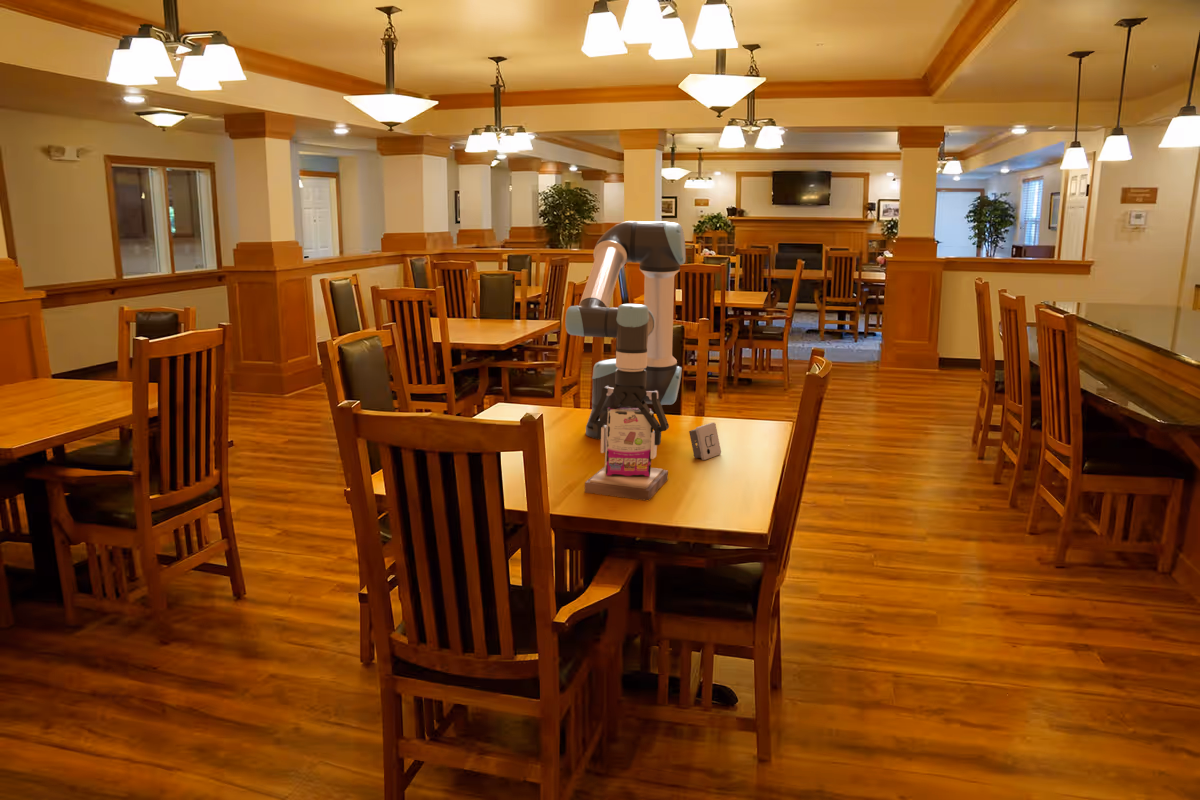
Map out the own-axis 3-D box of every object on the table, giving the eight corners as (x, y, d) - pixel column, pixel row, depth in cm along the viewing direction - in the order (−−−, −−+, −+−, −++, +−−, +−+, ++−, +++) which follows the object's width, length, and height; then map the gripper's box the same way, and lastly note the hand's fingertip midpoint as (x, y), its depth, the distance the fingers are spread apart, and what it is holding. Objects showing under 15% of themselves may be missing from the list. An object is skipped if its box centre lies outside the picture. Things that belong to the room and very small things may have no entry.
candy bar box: (647, 471, 214) (652, 407, 210) (650, 477, 209) (655, 412, 206) (603, 469, 213) (607, 406, 209) (605, 476, 208) (609, 411, 205)
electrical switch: (704, 461, 235) (703, 428, 234) (688, 459, 239) (687, 426, 237) (721, 454, 242) (720, 422, 241) (706, 453, 246) (705, 421, 244)
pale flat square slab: (608, 472, 223) (608, 461, 222) (667, 479, 218) (668, 468, 217) (584, 492, 206) (585, 480, 205) (648, 500, 201) (648, 488, 200)
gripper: (683, 370, 205) (679, 456, 210) (589, 362, 213) (587, 445, 217) (676, 375, 198) (672, 464, 203) (578, 367, 206) (576, 452, 210)
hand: (628, 454), depth 210 cm, fingers open, 12 cm apart
